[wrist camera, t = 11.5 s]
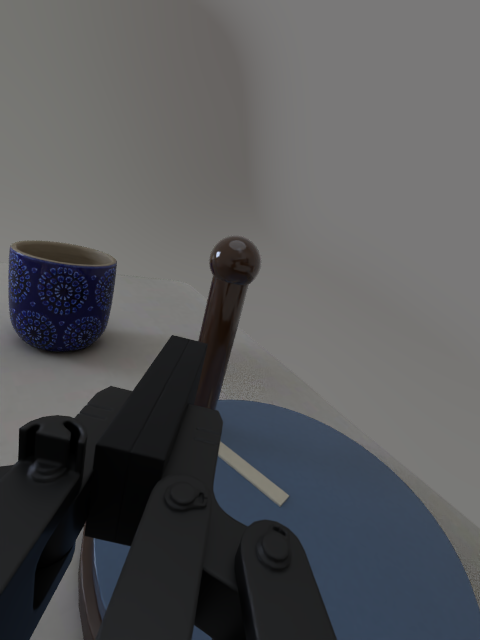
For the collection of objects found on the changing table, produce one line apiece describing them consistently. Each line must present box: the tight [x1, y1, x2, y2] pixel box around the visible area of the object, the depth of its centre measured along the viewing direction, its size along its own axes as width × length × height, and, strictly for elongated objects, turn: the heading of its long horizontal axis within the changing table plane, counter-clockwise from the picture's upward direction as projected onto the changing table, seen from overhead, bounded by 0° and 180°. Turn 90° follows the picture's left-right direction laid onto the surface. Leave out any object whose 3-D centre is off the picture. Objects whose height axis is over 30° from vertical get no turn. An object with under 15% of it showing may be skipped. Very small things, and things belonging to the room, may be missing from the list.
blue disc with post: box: [92, 236, 480, 640], centre depth 20 cm, size 24×24×17 cm
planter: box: [9, 241, 117, 352], centre depth 39 cm, size 11×11×11 cm
